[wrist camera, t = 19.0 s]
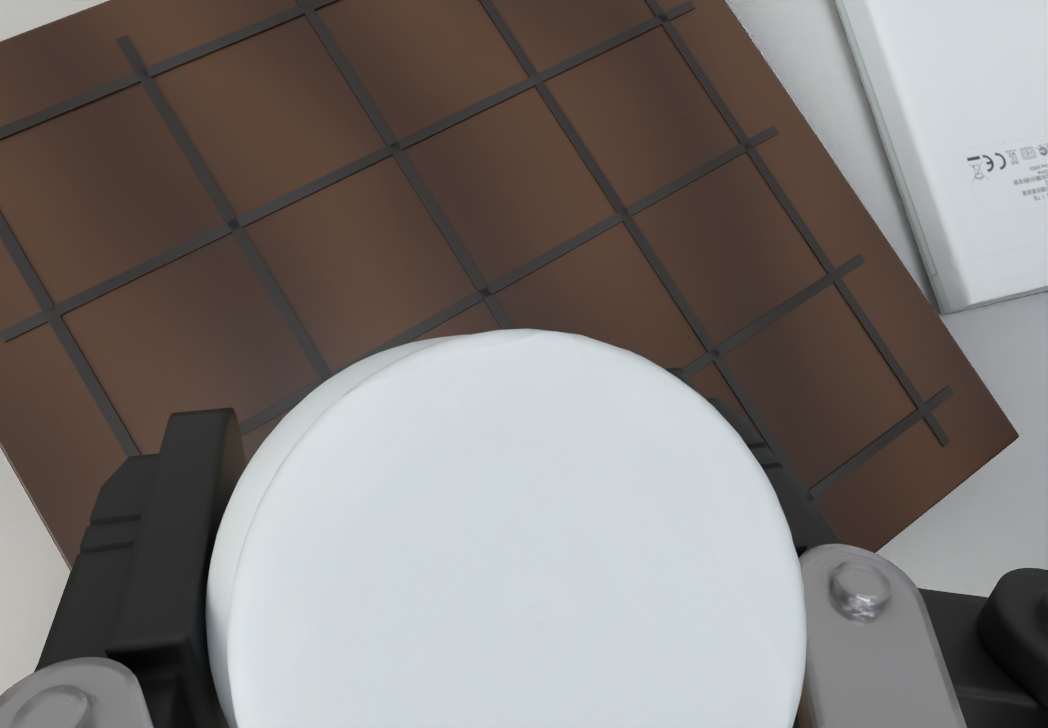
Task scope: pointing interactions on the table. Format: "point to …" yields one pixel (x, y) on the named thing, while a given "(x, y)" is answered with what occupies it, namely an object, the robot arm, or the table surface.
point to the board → (446, 232)
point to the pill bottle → (505, 551)
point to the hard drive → (963, 135)
